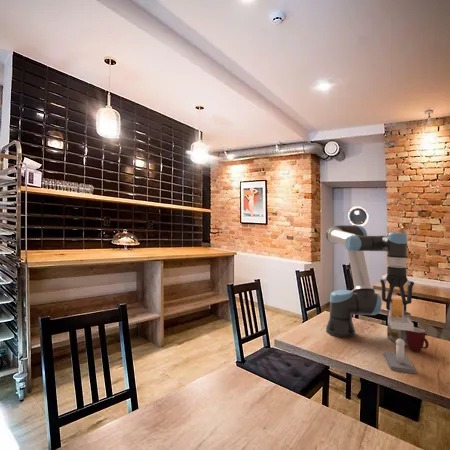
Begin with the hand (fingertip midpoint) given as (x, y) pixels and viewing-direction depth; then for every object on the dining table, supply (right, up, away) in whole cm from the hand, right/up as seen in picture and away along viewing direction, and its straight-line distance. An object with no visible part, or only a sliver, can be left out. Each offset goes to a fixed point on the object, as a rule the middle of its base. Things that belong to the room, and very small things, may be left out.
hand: (396, 317), depth 132 cm
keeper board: (-2, -19, -5) cm, 19 cm away
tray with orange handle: (-2, -2, -5) cm, 5 cm away
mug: (+15, -19, +8) cm, 26 cm away
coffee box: (+13, -19, +20) cm, 30 cm away
